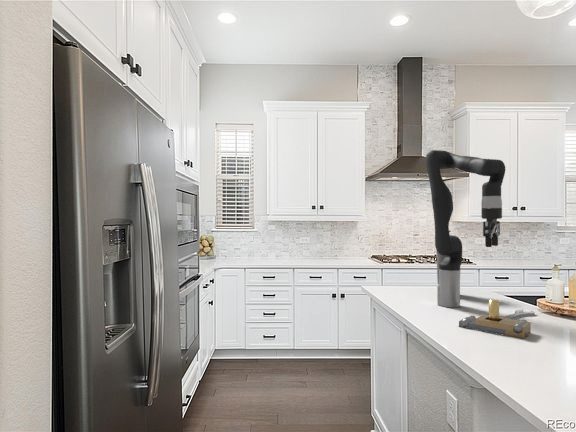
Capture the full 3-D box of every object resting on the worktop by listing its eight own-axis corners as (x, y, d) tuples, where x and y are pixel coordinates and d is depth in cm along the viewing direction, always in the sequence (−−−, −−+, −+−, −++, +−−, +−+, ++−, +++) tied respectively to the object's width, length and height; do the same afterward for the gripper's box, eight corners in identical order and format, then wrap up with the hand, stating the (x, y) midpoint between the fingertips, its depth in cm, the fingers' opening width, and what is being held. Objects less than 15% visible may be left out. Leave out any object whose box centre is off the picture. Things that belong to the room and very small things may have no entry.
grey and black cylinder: (464, 297, 199) (464, 230, 199) (438, 296, 201) (438, 230, 201) (457, 292, 211) (457, 230, 211) (433, 292, 213) (433, 230, 214)
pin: (487, 329, 142) (487, 300, 142) (490, 327, 145) (490, 299, 145) (497, 331, 140) (497, 301, 140) (500, 329, 142) (500, 300, 142)
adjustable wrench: (501, 324, 152) (501, 319, 152) (486, 320, 157) (486, 316, 157) (537, 315, 164) (537, 311, 164) (521, 312, 169) (521, 308, 169)
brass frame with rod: (458, 326, 146) (458, 315, 146) (467, 321, 153) (467, 310, 153) (524, 339, 131) (524, 326, 131) (530, 332, 138) (530, 320, 138)
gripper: (487, 207, 165) (487, 245, 165) (476, 207, 155) (476, 246, 155) (506, 207, 160) (506, 245, 160) (496, 206, 150) (496, 247, 150)
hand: (491, 246), depth 157 cm, fingers open, 8 cm apart
